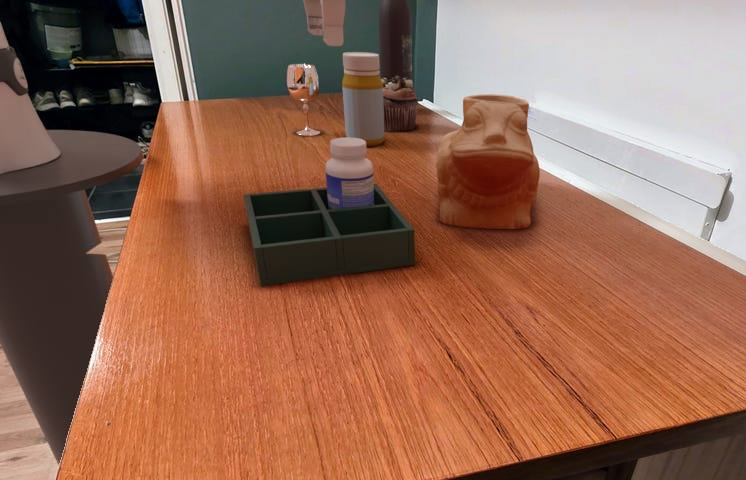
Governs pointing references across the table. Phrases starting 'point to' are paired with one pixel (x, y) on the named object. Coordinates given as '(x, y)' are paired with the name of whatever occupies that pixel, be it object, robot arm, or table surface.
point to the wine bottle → (395, 38)
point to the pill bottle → (349, 174)
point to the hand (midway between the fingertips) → (324, 39)
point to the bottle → (363, 97)
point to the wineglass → (303, 89)
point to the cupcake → (399, 103)
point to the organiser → (324, 236)
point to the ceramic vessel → (488, 166)
